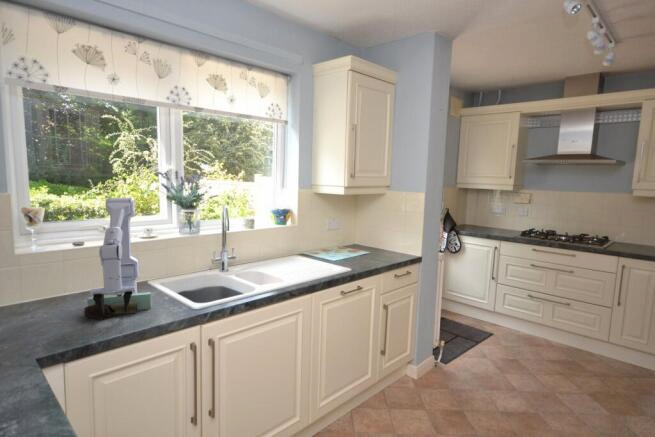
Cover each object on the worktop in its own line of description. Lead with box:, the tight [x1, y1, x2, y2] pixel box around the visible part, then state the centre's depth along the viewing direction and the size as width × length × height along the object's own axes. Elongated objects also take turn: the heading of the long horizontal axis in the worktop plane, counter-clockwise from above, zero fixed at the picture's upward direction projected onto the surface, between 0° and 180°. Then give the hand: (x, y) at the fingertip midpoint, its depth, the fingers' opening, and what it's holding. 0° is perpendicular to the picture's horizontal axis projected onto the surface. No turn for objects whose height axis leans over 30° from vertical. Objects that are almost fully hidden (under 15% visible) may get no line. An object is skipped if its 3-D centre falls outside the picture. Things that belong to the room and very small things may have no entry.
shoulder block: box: [86, 291, 153, 311], centre depth 148 cm, size 3×22×7 cm, turn 108°
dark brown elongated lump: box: [83, 302, 138, 321], centre depth 143 cm, size 18×7×6 cm, turn 113°
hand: (114, 312), depth 139 cm, fingers open, 7 cm apart
